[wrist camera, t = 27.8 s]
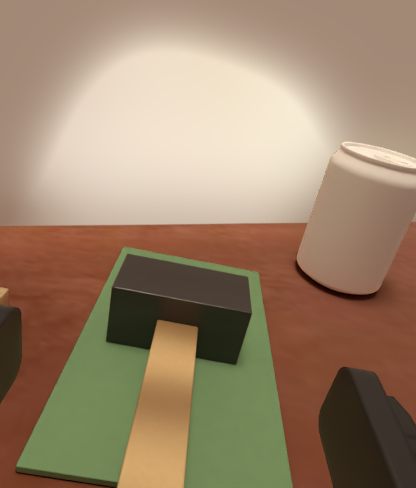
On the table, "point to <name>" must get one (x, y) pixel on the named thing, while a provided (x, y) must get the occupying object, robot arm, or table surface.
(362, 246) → the beverage can
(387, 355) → the table surface
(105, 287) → the felt mat
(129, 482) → the mallet
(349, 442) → the robot arm
